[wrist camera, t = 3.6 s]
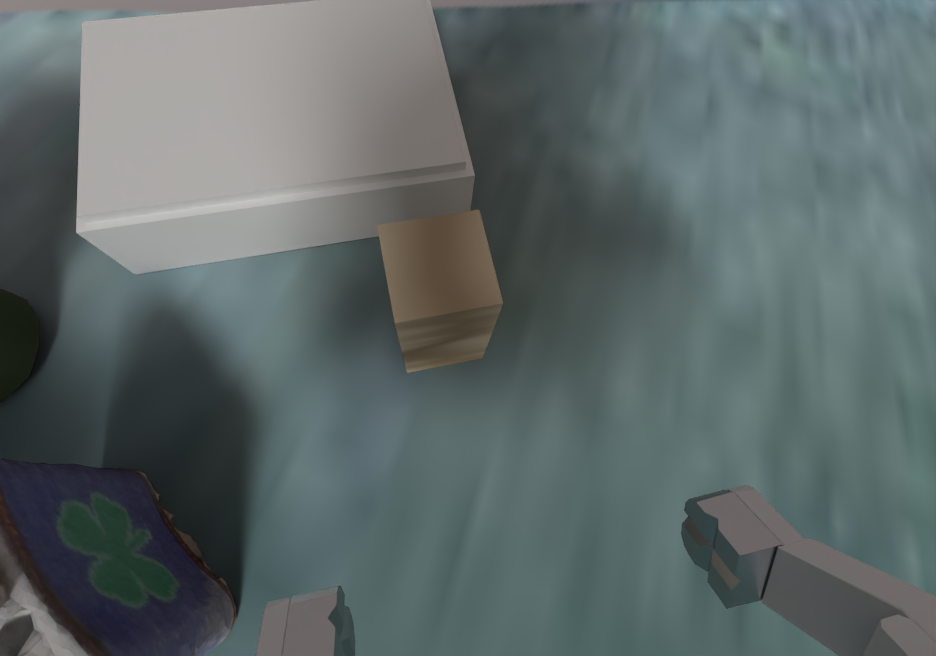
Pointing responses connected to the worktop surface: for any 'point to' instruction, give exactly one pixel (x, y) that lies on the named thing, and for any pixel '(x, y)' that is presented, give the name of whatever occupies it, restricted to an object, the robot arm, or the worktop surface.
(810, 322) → the worktop surface
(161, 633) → the flask
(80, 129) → the grey box
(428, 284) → the maple block
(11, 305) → the character mug
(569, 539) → the worktop surface
